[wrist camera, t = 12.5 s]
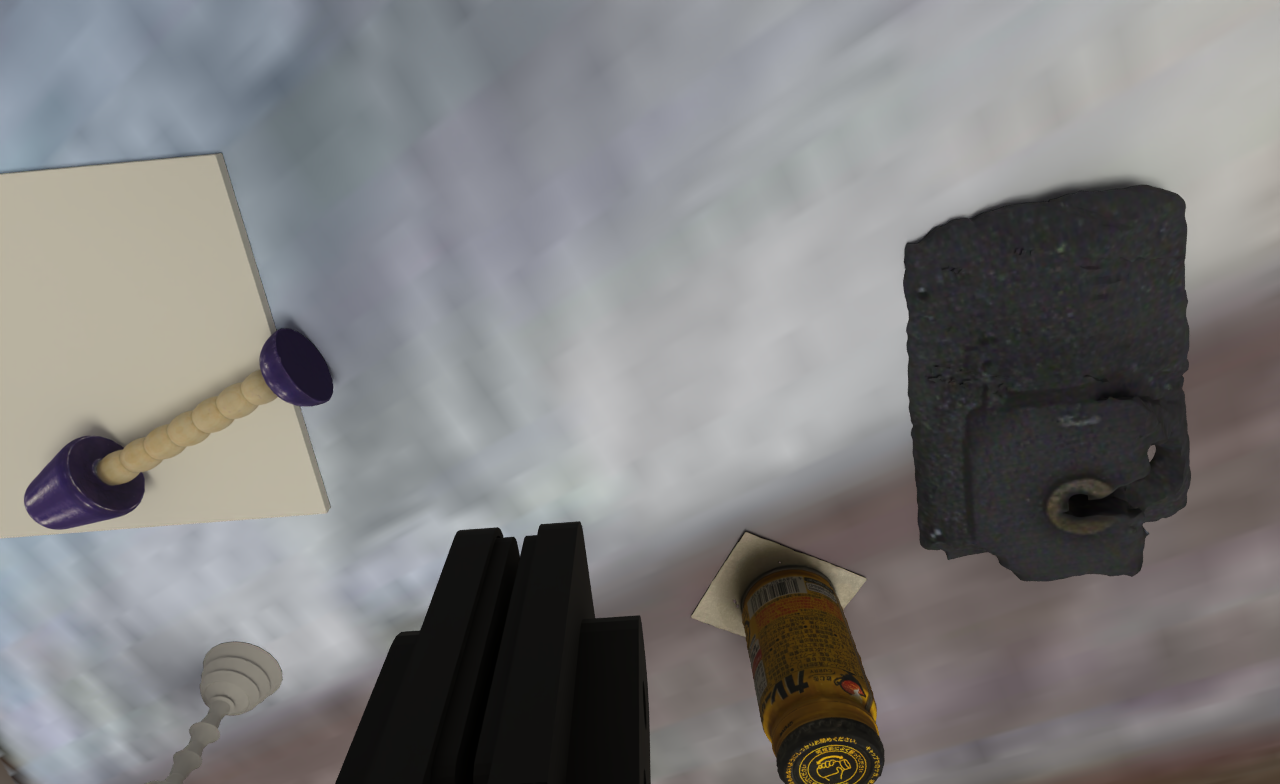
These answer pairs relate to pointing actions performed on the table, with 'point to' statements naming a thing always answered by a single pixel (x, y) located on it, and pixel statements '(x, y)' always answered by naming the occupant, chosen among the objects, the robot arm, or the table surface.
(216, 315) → the mat
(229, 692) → the chalice
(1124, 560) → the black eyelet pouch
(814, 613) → the condiment
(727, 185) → the table surface
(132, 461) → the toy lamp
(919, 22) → the table surface
